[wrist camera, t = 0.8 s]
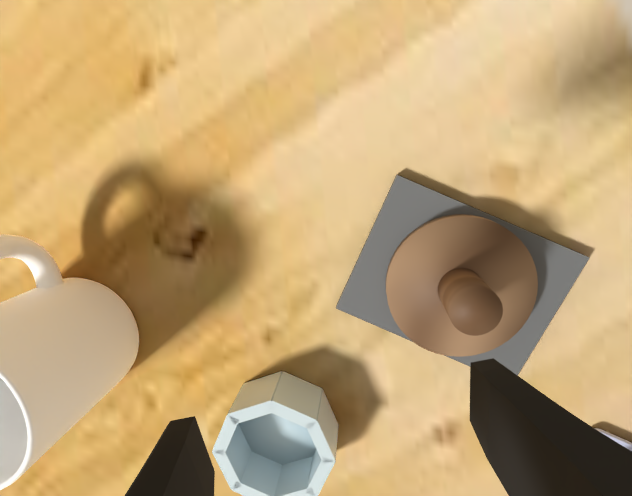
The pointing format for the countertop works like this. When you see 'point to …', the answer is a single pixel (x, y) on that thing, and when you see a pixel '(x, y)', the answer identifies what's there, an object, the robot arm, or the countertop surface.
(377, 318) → the mat
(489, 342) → the lid
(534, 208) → the countertop surface
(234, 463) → the bowl
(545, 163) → the countertop surface
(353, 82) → the countertop surface
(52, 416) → the mug
